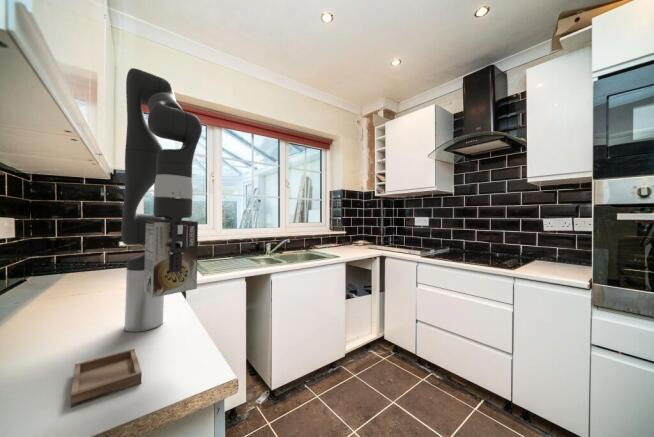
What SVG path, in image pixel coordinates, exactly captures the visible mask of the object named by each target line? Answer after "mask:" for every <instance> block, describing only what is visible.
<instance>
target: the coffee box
mask: <svg viewBox="0 0 654 437" xmlns="http://www.w3.org/2000/svg"><path fill="white" fill-rule="evenodd" d="M182 225H187V234H186V252H184V253H183V254H181V255H182V268H181V271H180V272H170V271H169V261H170V253H169V244H167V241H168V240H172V232H171V222H169V221H167V220H160V221H146V228H145V245H144V253H145V273H144V292H145V293H147V294H148V295H149V296H151V297H152V298H154V297H159V296H164V297H165V296H167V295H168V296H169V295H173V294H177V293H182V292H187V291H192V290H196V289H198V288H197V287H198V285H197V284H198V243H199V242H198V238H199V236H198V235H199V234H198V232H199V222H198V221H193V220H182ZM177 236H181V235H177ZM175 247H179V245H178V244H176V245H175Z"/></svg>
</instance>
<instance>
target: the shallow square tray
mask: <svg viewBox="0 0 654 437" xmlns="http://www.w3.org/2000/svg"><path fill="white" fill-rule="evenodd" d="M140 384H142V369H141V366H140V363H139V359H138V356H137V352H136V349H135V348H132V349H128V350H123V351H120V352H119V351H118V352H116V353H112V354H108V355H106V356H102V357H98V358H97V357H96V358H94V359H90V360H86V361H82V362H79V363H75V364H74V370H73V378H72V384H71V385H72V387H71V393H70V408H75V407H76V406H77V407H78V406H80V405H82V404H85V403H88V402H91V401H94V400H98V399H99V398H103V397H106V396H108V395H111V394H115V393H117V392H120V391H123V390H126V389H128V388H132V387H135V386H137V385H140Z"/></svg>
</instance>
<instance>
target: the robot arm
mask: <svg viewBox="0 0 654 437" xmlns="http://www.w3.org/2000/svg"><path fill="white" fill-rule="evenodd" d="M125 80H126V81H125V91H126V92H125V94H126V95H125V96H126V117H127V118H126V119H127V120H126V122H127V123H126V137H125V149H124V151H125V152H124V196H123V197H124V199H123V208H122V216H121V228H120V236H121V241H122V243H123V244H124V245H126V246H145V228H146V221H160V220H167V221H169V222H171V232H172V240H168V241H167V244H169V253H170V261H169V271H170V272H180V271H181V268H182V255H181V254H183V253H184V252H186V234H187V225H182V221H183V219H189V218H191V217H192V216H193V191H194V190H193V162H194V156H195V154H196V153H195V152H196V149H197V146H198V143H199V140H200V139H201V135H202V133H203V126H202V125H203V124H202V122H201V120H200V118H199V117H198V116H197V115H195V114H193V113H190V112H187V111H184V109H183V108H182V107H181V106H180V104H179V103H178V101H177V100H176V95H175V93H174V90H173V87H172V84H171V83H170V82H169V81H168V80H167V79H165V78H162V77H160V76H157V75H156V74H153V73H150V72H147V71H144V70H142V69H139V68H134V67H133V68H130V69H129V70H128V71H127V74H126V79H125ZM143 105H144V106H147V108H148V109H147V110H148V111H149V113H148V116H147V120H146V118H145V114H144V110H143V107H142V106H143ZM158 138H160V139H166V140H169V141H174V142H179V143H182V144H181V145H182V146H181V148H163V146H162V144H161V142H160V141H159V139H158ZM153 186H154V187H153ZM152 187H153V189H154V190H153V212H152V213H137V210H138V207H139V205H140V203H141V201H142V199H143V198H144V196H146V194H147V193H148V191H149V190H150V189H151V188H152ZM177 235H181V236H177ZM176 244H178V245H179V247H175V245H176ZM144 273H145V252H144V253H142V254H139V255H135V256H133V257H131V258H128V260H127V261H126V273H125V274H126V276H125V277H126V278H125V307H124V308H125V309H124V311H125V312H124V330H125V331H126V332H131V333H134V332H135V333H136V332H138V333H139V332H143V331H144V332H146V331H149V330H152V329H155V328H157V327H160V326H161V325H162V324H163V323H164V307H165V306H164V302H165V300H164V299H165V295H164V296H159V297H154V298H152V297H151V296H149V295H148V294H147V293H145V292H144Z"/></svg>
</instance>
